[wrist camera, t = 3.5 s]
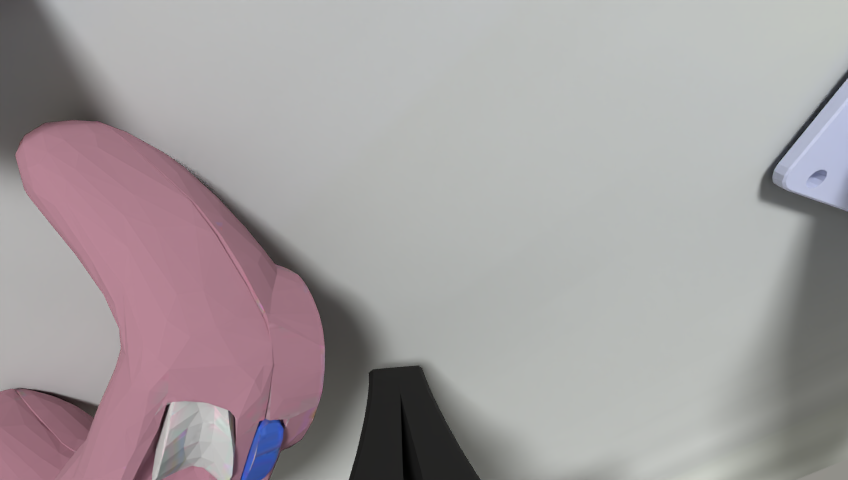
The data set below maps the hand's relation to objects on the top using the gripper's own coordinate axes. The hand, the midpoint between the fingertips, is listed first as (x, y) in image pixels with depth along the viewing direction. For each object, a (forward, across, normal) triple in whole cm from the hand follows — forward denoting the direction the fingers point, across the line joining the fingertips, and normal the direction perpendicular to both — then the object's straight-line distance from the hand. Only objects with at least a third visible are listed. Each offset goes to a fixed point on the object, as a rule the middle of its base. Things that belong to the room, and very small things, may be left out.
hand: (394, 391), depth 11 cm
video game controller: (+2, +6, -2) cm, 6 cm away
